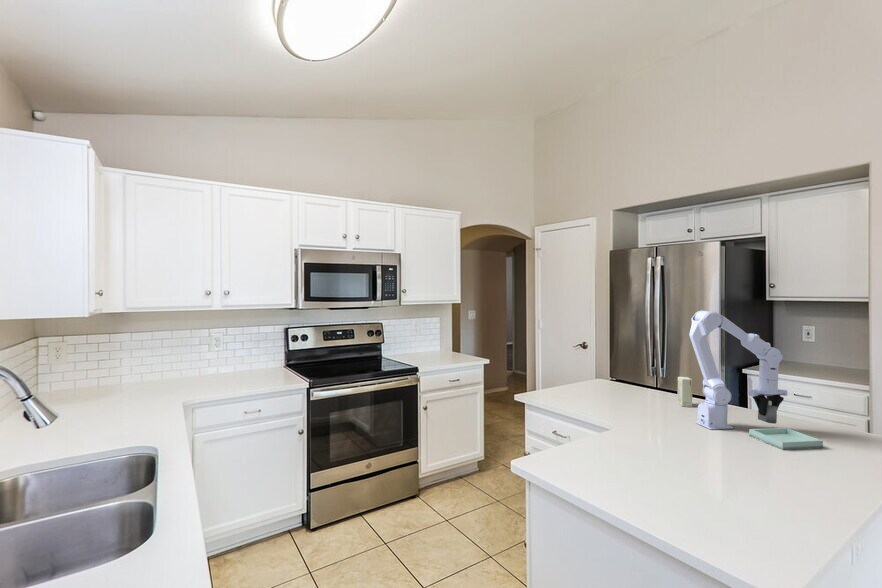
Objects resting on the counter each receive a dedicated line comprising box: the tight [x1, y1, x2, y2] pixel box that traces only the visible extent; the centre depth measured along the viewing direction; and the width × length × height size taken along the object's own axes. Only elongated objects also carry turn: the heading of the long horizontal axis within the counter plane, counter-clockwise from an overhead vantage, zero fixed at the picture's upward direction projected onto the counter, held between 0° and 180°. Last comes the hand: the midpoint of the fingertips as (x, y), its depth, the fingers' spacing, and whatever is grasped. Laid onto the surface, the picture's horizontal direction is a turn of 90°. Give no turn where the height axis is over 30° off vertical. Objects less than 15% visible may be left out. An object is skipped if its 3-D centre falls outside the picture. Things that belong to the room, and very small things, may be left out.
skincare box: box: [676, 376, 693, 408], centre depth 194 cm, size 6×4×12 cm
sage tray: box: [748, 427, 824, 451], centre depth 149 cm, size 15×13×2 cm
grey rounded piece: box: [757, 401, 778, 424], centre depth 163 cm, size 4×6×8 cm, turn 8°
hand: (767, 414), depth 163 cm, fingers closed on grey rounded piece, 3 cm apart
